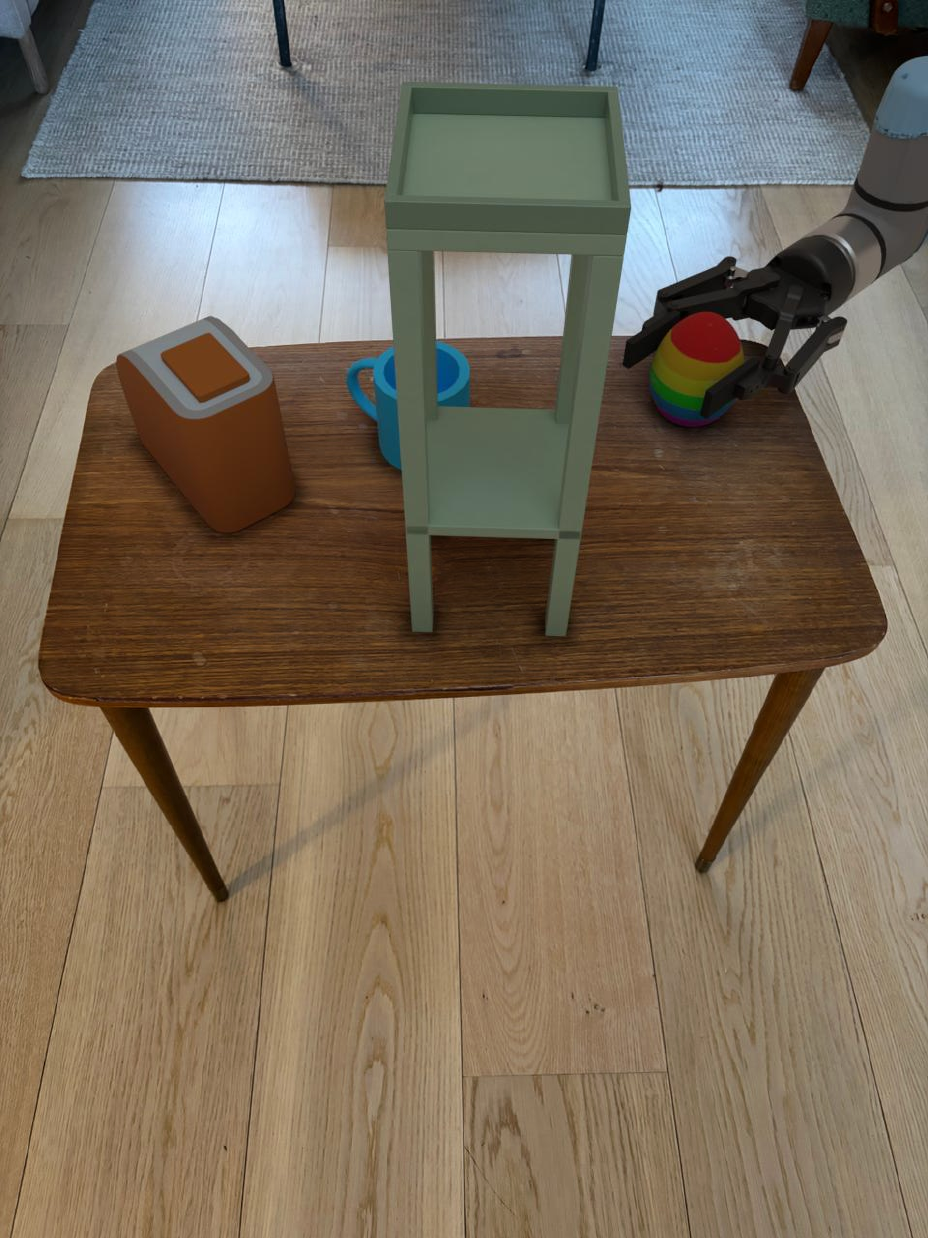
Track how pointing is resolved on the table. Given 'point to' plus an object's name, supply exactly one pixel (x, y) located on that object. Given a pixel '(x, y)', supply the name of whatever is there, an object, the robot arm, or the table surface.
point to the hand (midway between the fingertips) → (666, 379)
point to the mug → (449, 389)
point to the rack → (503, 223)
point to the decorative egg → (693, 366)
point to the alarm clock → (211, 422)
